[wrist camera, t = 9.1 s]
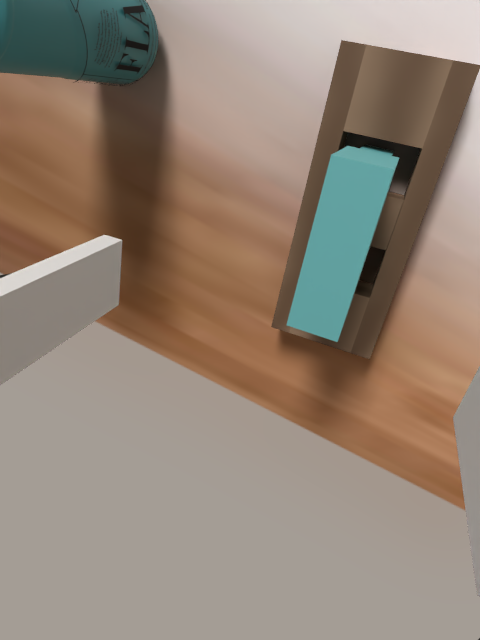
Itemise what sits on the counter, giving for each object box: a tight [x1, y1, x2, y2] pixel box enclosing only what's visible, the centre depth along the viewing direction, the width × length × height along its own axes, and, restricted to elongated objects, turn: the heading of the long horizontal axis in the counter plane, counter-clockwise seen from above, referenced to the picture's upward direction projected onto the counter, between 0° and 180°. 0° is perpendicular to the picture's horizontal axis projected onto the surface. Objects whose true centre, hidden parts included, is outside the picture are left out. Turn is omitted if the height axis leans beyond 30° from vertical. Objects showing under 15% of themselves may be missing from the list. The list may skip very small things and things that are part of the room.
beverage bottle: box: [0, 0, 158, 86], centre depth 26 cm, size 6×7×20 cm
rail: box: [271, 40, 480, 359], centre depth 32 cm, size 8×20×3 cm, turn 168°
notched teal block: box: [287, 145, 399, 342], centre depth 29 cm, size 3×9×12 cm, turn 168°
